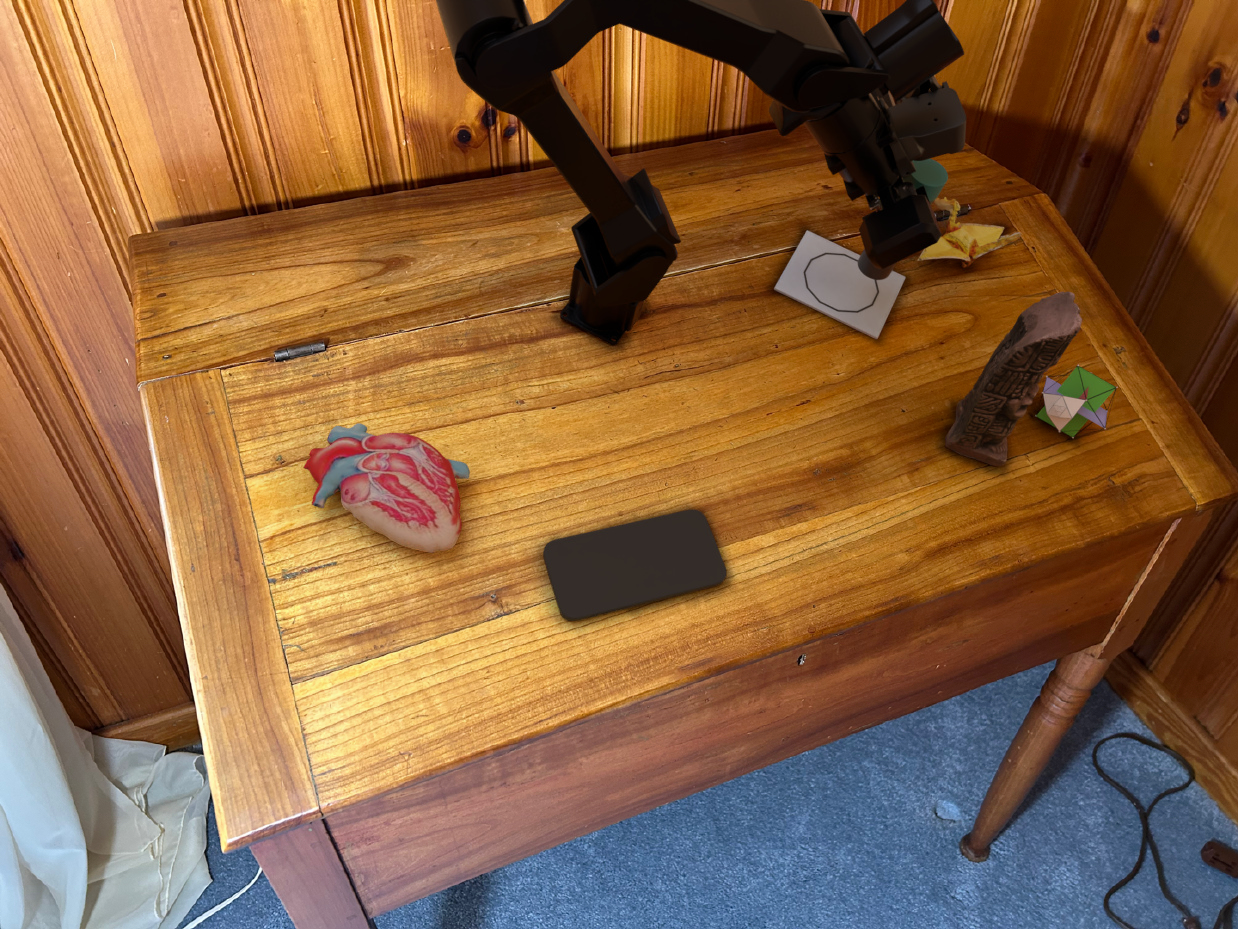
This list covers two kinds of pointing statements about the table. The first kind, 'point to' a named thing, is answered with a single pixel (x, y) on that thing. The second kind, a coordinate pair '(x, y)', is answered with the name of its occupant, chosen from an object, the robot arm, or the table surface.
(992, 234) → the origami crane
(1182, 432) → the table surface
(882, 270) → the dot marker
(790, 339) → the table surface
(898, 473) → the table surface
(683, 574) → the phone
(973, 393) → the statue
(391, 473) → the anatomical model
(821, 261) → the white rectangular board
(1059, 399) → the geometric puzzle
